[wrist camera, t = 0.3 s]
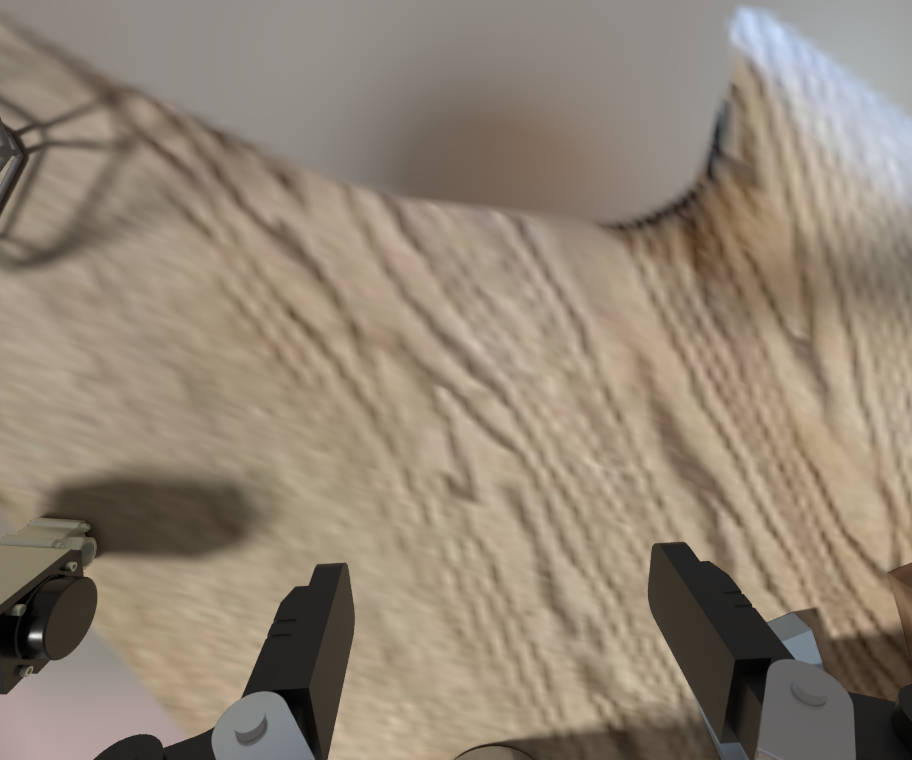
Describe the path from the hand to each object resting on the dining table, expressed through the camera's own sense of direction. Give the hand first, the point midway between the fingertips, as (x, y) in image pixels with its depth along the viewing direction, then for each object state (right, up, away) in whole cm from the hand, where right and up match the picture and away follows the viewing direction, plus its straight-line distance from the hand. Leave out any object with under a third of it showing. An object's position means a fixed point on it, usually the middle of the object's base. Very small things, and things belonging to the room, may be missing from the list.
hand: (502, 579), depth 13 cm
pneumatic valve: (-30, -7, +23) cm, 38 cm away
